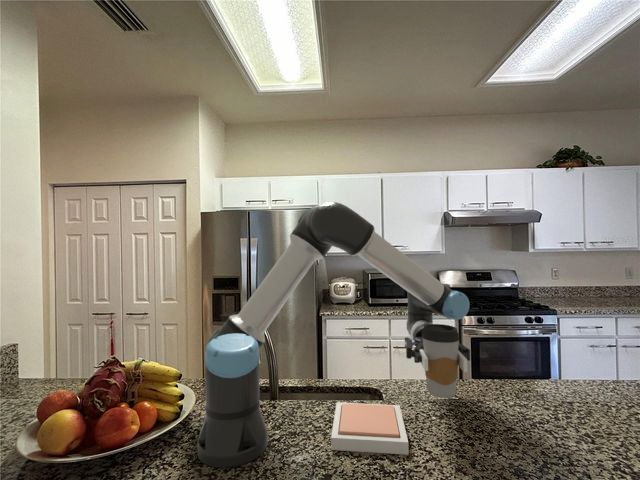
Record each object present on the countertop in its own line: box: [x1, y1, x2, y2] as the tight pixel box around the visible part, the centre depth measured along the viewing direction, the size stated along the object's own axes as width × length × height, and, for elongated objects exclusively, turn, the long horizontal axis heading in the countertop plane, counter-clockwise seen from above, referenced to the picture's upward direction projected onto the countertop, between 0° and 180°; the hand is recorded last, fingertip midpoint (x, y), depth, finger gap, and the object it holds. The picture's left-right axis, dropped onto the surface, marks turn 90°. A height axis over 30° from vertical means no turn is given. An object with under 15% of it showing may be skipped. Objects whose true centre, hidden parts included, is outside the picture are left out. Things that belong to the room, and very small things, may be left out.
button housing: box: [330, 401, 410, 455], centre depth 79 cm, size 16×16×3 cm
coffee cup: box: [422, 323, 460, 399], centre depth 78 cm, size 8×8×15 cm
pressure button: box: [339, 402, 399, 438], centre depth 79 cm, size 13×13×1 cm
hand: (445, 365), depth 73 cm, fingers closed on coffee cup, 7 cm apart
